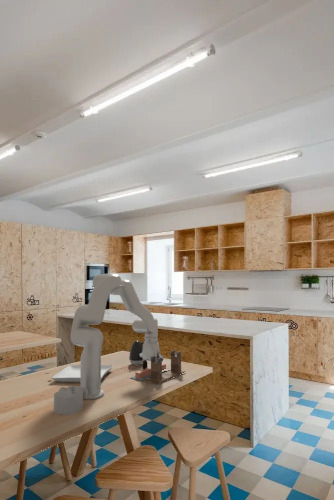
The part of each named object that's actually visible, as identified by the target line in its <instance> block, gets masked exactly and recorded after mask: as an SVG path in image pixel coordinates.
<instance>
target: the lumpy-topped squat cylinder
mask: <svg viewBox="0 0 334 500" xmlns="http://www.w3.org/2000/svg"><path fill="white" fill-rule="evenodd" d="M83 403H84V399H83V389H82V388H81V387H80V385H69V386H67V387H64V386H62V387H60V388H59V389H58V391H56V392H55V393H54V394H53V414H57V415H65V416H69V415H75V414H76V413H77V412H79V411H81V410H82V409H83V408H84V404H83Z"/></svg>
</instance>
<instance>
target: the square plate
mask: <svg viewBox="0 0 334 500" xmlns="http://www.w3.org/2000/svg"><path fill="white" fill-rule="evenodd" d="M113 367H114V365H111V364H110V365H109V364H101V379H103V377H104V376H105V375H106V374H107V373H108V372H110V370H111V371H112V368H113ZM80 369H81V364H72V365H71V364H70V365H68V366H67V367H65V368H63V369H62V370H60V371H59V372H57V373H56V374H55V375H53V376H52V377H51V379H52V380H53V381H56V382H63V383H80Z"/></svg>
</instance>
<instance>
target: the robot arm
mask: <svg viewBox="0 0 334 500" xmlns="http://www.w3.org/2000/svg"><path fill="white" fill-rule="evenodd" d="M92 286H93V289H92V290H91V293H90V297H89V300H88V303H87V304H82V305H80V306H78V307H77V308H76V310H75V312H74V315H73V320H72V324H71V325H72V326H71V329H70V341H71V343H72V344H73V345H74V346H78V347H83V349H82V351H81V355H80V365H81V369H80V382H79V387H81V388H82V389H83V400H96V399H100V398H102V397H103V396H104V394H105V391H104V390H103V389H102V388H101V387H102V386H101V384H102V383H101V382H102V381H101V380H102V378H101V365H102V364H101V363H102V348H103V342H104V335H103V332H102V330H100V329H99V328H96V327H92V326H94V325H95V326H97V325H100V324H101V323H103V321H104V318H105V313H106V307H107V301H108V298H109V296H110V295H113V296H120V299H121V301H122V303H123V305H124V307H125V310H127V311H128V312H130V313H131V314H133V315H135V316H137V317H138V318H137V319H136V320H134V321H133V322H132V324H131V328H132V330H133V331H134V332H135V333H139V334H144V337H143V340H144V341H143V342H144V344H143V345H142V346H143V351H142V353H140V357H141V360H142V362H143V364H142V370H144V369H147V368H148V362H151V357H153V356H155V357H156V361H157V358H160V357H162V363H163V361H164V358H165V357H164V356H163V355H162V354H161V350H160V344H159V340H158V339H159V337H158V336H159V333H158V330H159V327H158V323H159V322H158V319H157V318H154V316H153V313H151V311H150V310H149V309H148V308H147V307H146V306H145V305H144V304H143V303H142V302H141V301H140V299H139V297H138V294H137V292H136V289H135V287H134V285H133V283H132V282H131V281H130V280H128V279H122V277H121V276H120V275H119V274H115V273H105V274H104V273H102V274H96V275H95V276H94V277H93V278H92ZM89 325H92V326H89Z"/></svg>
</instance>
